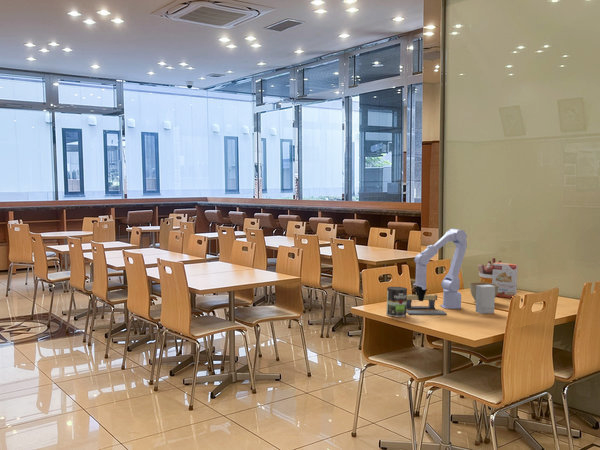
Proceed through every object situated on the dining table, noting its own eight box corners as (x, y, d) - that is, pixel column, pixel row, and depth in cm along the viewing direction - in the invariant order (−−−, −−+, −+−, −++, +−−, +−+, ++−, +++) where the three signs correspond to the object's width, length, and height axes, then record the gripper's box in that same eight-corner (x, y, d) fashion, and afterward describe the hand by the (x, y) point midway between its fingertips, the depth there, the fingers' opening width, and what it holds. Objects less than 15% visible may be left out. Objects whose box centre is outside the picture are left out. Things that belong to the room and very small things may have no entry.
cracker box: (491, 296, 355) (492, 262, 354) (493, 294, 361) (494, 262, 359) (514, 298, 348) (516, 264, 347) (516, 297, 353) (518, 263, 352)
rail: (435, 299, 314) (435, 294, 314) (437, 300, 311) (437, 295, 311) (403, 299, 313) (403, 294, 313) (404, 300, 310) (404, 295, 310)
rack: (432, 307, 315) (433, 298, 315) (435, 309, 311) (435, 300, 311) (404, 307, 314) (404, 298, 314) (406, 309, 310) (406, 300, 310)
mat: (442, 312, 305) (442, 310, 305) (446, 315, 298) (446, 313, 298) (405, 311, 303) (405, 310, 303) (409, 314, 296) (409, 313, 296)
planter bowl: (494, 300, 340) (494, 282, 340) (500, 306, 324) (501, 287, 324) (466, 299, 342) (467, 281, 341) (472, 305, 326) (472, 286, 325)
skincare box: (488, 311, 310) (489, 284, 309) (494, 313, 304) (495, 286, 303) (474, 311, 307) (475, 284, 307) (480, 314, 302) (482, 286, 301)
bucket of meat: (500, 291, 372) (502, 261, 371) (475, 289, 380) (476, 259, 379) (506, 287, 389) (507, 258, 388) (481, 285, 397) (482, 256, 396)
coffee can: (409, 316, 292) (410, 289, 291) (391, 317, 289) (392, 290, 288) (400, 312, 302) (401, 286, 301) (383, 313, 299) (383, 286, 298)
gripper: (410, 273, 318) (409, 297, 319) (417, 278, 304) (416, 303, 305) (422, 274, 319) (422, 297, 320) (430, 278, 304) (429, 303, 305)
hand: (420, 300), depth 312 cm, fingers closed on rail, 2 cm apart
